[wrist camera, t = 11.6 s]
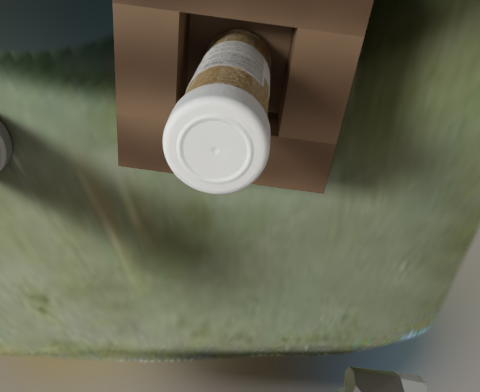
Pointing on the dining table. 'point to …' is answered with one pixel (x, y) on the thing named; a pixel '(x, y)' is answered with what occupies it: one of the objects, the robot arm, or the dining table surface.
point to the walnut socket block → (281, 75)
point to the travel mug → (4, 146)
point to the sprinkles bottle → (223, 117)
